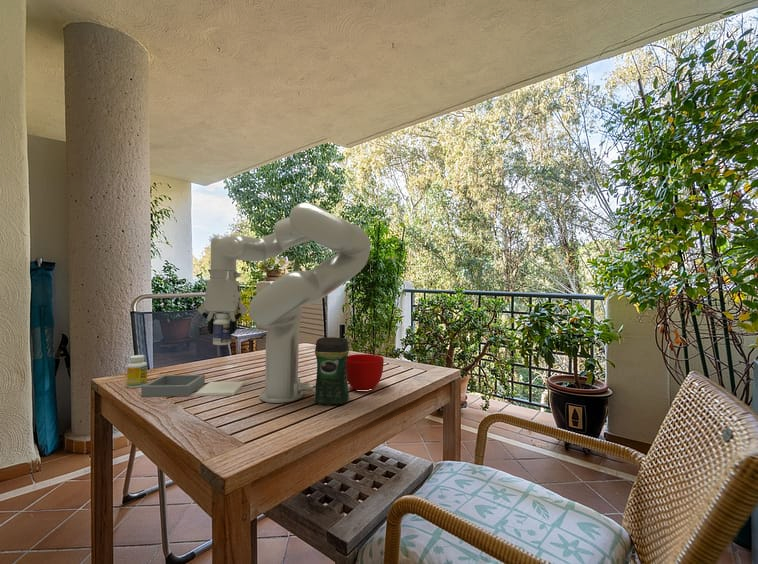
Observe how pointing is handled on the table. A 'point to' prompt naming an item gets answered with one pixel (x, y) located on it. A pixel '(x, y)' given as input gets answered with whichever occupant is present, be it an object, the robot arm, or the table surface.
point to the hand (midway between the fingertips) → (222, 332)
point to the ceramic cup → (364, 370)
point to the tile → (220, 388)
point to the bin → (173, 385)
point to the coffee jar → (331, 371)
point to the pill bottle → (221, 329)
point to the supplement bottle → (136, 372)
